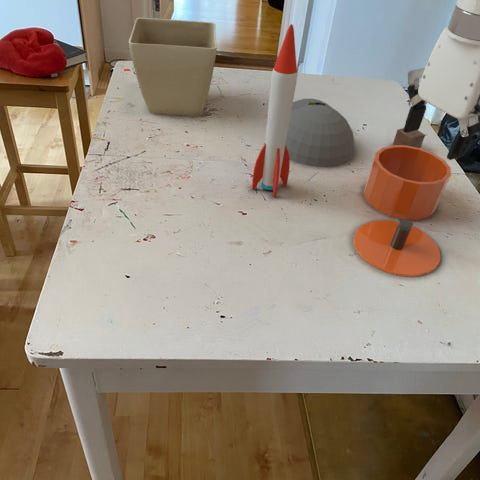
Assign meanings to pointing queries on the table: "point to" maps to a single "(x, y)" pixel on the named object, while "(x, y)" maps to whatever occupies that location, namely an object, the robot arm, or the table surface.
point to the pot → (406, 182)
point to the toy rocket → (278, 120)
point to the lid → (396, 248)
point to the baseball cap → (318, 135)
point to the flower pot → (173, 64)
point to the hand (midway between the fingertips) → (431, 143)
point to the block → (409, 138)
